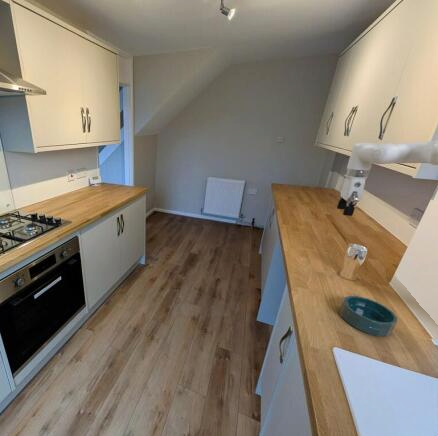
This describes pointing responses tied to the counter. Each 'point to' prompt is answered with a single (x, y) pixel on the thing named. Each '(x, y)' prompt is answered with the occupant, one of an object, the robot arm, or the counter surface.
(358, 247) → the beer glass
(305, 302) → the counter surface
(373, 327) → the bowl
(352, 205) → the robot arm
